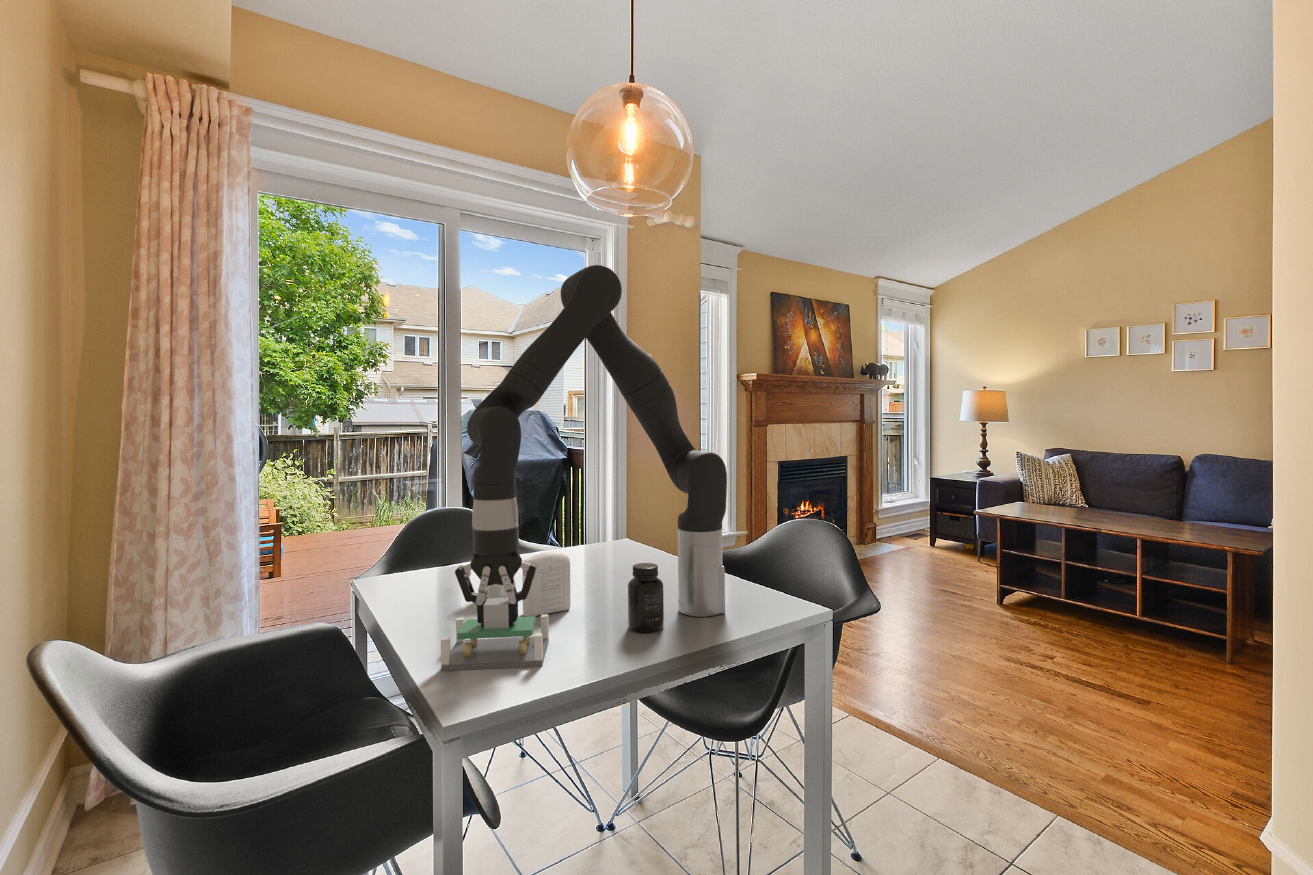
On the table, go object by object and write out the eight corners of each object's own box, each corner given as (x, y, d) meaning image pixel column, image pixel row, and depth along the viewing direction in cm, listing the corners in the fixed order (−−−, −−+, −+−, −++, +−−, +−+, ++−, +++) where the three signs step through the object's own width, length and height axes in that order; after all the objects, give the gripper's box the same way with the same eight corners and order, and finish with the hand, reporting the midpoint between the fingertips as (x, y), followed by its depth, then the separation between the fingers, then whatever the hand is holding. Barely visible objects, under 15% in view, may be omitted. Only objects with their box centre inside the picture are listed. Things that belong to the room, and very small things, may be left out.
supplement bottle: (667, 622, 119) (666, 562, 119) (659, 634, 112) (658, 570, 112) (634, 620, 121) (633, 560, 120) (623, 632, 114) (622, 568, 114)
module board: (535, 621, 107) (535, 593, 107) (531, 635, 101) (531, 605, 100) (466, 625, 106) (465, 596, 106) (457, 639, 99) (456, 609, 99)
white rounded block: (565, 604, 131) (564, 548, 131) (573, 610, 128) (572, 551, 128) (519, 613, 126) (518, 554, 125) (527, 619, 122) (526, 558, 122)
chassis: (548, 641, 110) (548, 614, 109) (542, 666, 99) (541, 635, 98) (458, 645, 108) (457, 617, 108) (441, 670, 97) (440, 639, 97)
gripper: (540, 519, 107) (542, 615, 108) (458, 521, 106) (460, 619, 106) (535, 527, 100) (537, 630, 100) (446, 529, 98) (449, 634, 99)
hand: (497, 624), depth 103 cm, fingers closed on module board, 4 cm apart
